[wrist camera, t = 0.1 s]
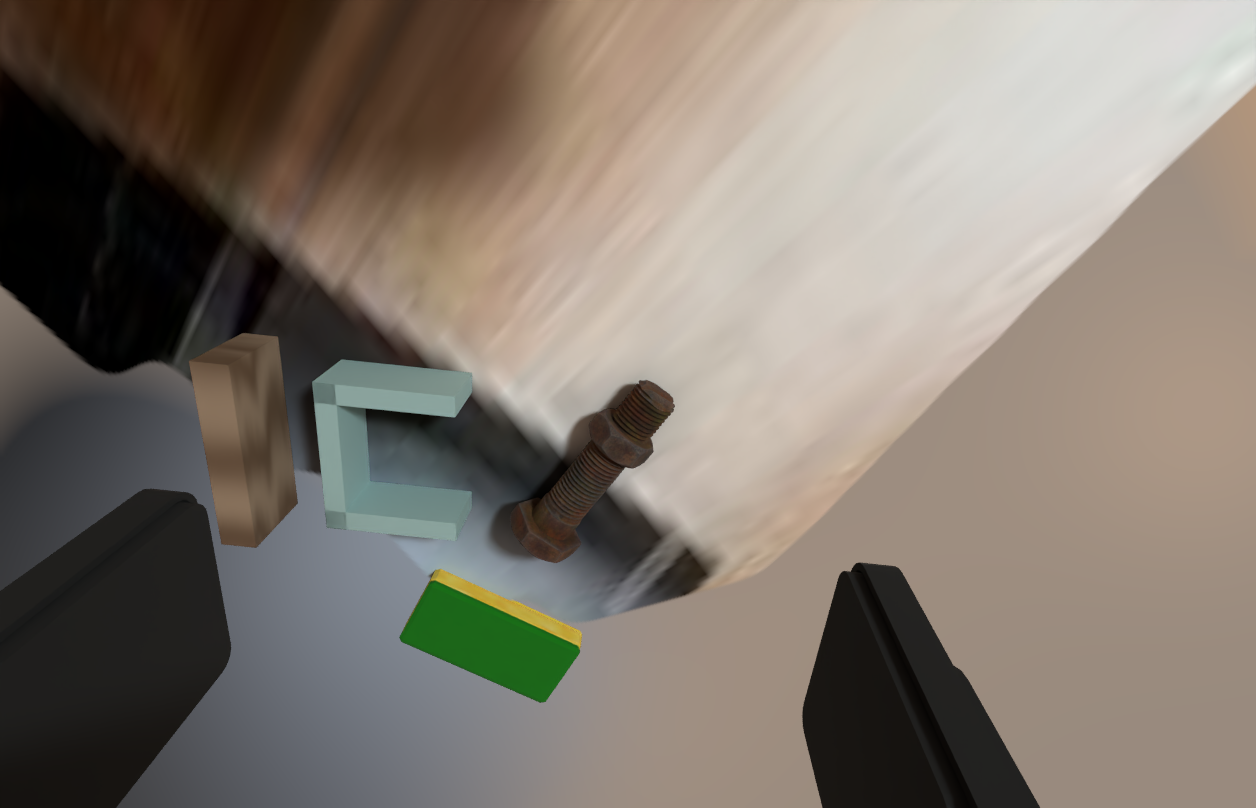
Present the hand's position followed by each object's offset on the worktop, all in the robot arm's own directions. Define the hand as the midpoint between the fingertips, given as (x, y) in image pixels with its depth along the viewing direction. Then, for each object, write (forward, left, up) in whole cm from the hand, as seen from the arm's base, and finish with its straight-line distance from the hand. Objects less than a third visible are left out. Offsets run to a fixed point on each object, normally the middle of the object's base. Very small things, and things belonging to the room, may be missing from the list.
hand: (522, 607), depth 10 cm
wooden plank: (+17, -25, -37) cm, 48 cm away
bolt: (+17, 0, -37) cm, 41 cm away
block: (+17, -15, -37) cm, 43 cm away
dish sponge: (+35, -8, -37) cm, 52 cm away
